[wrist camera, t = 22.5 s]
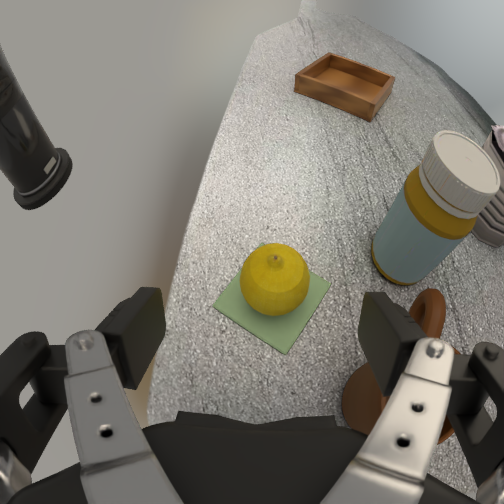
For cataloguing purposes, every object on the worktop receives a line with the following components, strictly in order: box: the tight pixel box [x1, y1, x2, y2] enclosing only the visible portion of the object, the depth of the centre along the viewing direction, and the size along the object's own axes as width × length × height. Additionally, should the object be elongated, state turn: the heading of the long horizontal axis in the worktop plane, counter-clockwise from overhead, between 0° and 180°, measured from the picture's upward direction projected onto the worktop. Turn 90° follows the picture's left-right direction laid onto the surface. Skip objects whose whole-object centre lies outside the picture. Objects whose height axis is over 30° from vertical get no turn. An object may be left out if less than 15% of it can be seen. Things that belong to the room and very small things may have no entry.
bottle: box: [371, 130, 500, 285], centre depth 22 cm, size 7×7×15 cm
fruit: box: [239, 243, 310, 316], centre depth 23 cm, size 6×6×8 cm
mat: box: [213, 243, 331, 355], centre depth 27 cm, size 8×8×1 cm
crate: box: [294, 53, 395, 122], centre depth 43 cm, size 14×14×4 cm
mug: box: [342, 288, 460, 445], centre depth 19 cm, size 12×8×9 cm, turn 162°
